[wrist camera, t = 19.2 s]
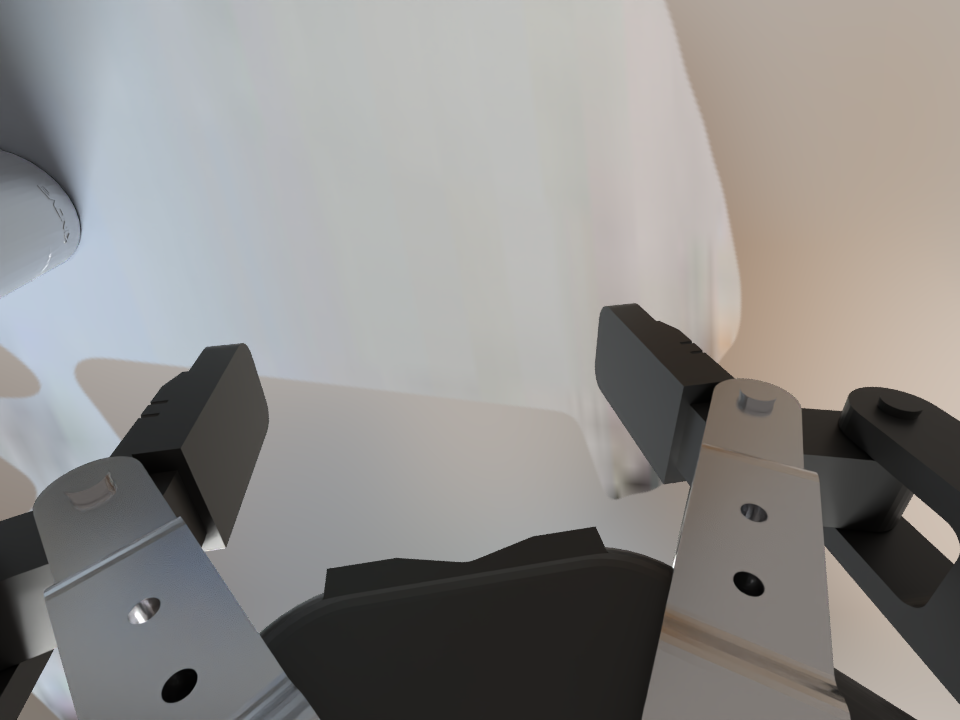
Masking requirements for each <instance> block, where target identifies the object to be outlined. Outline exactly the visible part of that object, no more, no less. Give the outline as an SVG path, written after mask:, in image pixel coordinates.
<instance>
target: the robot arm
mask: <svg viewBox="0 0 960 720" xmlns="http://www.w3.org/2000/svg"><path fill="white" fill-rule="evenodd" d="M79 238H80V224H79V219H78V216H77V213H76V210H75V208H74V206H73V204H72V202H71V200H70V199H69V197H68V195H67V194H66V193H65V192H64V190H63V189H62V188H61V187H60V185H59V184H58V183H57V182H56V181H55V180H54V179H52V178H51V177H50V176H49V175H48V174H47V173H46V172H45V171H43V170H42V169H40V168H39V167H37V166H36V165H34V164H33V163H31V162H29V161H27V160H25V159H23V158H21V157H19V156H17V155H15V154H12V153H8V152H5V151H2V150H0V299H1V298H2V297H4V296H6V295H8V294H9V293H11V292H13V291H15V290H17V289H18V288H20V287H22V286H24V285H25V284H27V283H29V282H31V281H33V280H35V279H36V278H38V277H40V276H42V275H43V274H45V273H47V272H49V271H50V270H52V269H54V268H55V267H57V266H59V265H61V264H62V263H64V262H66V261H67V260H68V259H69V258H70V257H71V256H72V255H73V254H74V252H75V250H76V248H77V246H78V244H79ZM595 374H596V380H597V383H598V386H599V388H600V390H601V392H602V393H603V395H604V396H605V398H606V399H607V401H608V402H609V404H610V405H611V407H612V408H613V410H614V411H615V413H616V414H617V416H618V417H619V419H620V420H621V422H622V423H623V425H624V426H625V428H626V429H627V431H628V432H629V434H630V435H631V436H632V438H633V439H634V441H635V442H636V444H637V445H638V447H639V448H640V450H641V451H642V453H643V454H644V456H645V457H646V459H647V460H648V462H649V463H650V465H651V466H652V468H653V469H654V471H655V472H656V474H657V475H658V477H659V478H660V480H661V481H662V483H663V484H669V483H676V482H683V481H687V482H688V484H689V485H690V489H689V494H688V498H687V502H686V506H685V511H684V515H683V520H682V524H681V528H680V533H679V537H678V542H677V546H676V550H675V555H674V559H673V563H672V567H671V566H669V565H667V564H665V563H663V562H661V561H658V560H656V559H653V558H651V557H648V556H645V555H642V554H639V553H635V552H631V551H627V550H621V549H615V548H608V547H605V546H604V544H603V542H602V540H601V538H600V535H599V533H598V531H597V529H596V527H590V528H584V529H577V530H571V531H565V532H559V533H552V534H546V535H539V536H533V537H531V538H528V539H526V540H523V541H521V542H518V543H516V544H513V545H511V546H508V547H506V548H503V549H501V550H498V551H496V552H494V553H491V554H489V555H486V556H484V557H481V558H479V559H476V560H473V561H470V562H448V561H434V560H419V559H402V558H394V559H387V560H381V561H375V562H368V563H362V564H355V565H349V566H343V567H337V568H330V569H327V574H326V583H325V590H324V593H322V594H320V595H317V596H315V597H313V598H311V599H309V600H307V601H305V602H303V603H301V604H299V605H297V606H296V607H294V608H293V609H291V610H290V611H288V612H286V613H285V614H283V615H282V616H280V617H279V618H278V619H276V620H275V621H274V622H272V623H271V624H270V625H269V626H267V627H266V628H265V629H264V630H263V631H261V632H260V633H258V632H257V630H256V629H255V627H254V626H253V624H252V623H251V621H250V620H249V618H248V617H247V615H246V614H245V612H244V611H243V609H242V608H241V606H240V605H239V603H238V602H237V600H236V599H235V597H234V596H233V594H232V593H231V591H230V590H229V588H228V587H227V585H226V584H225V582H224V581H223V579H222V578H221V576H220V575H219V573H218V572H217V570H216V569H215V567H214V566H213V564H212V563H211V561H210V560H209V558H208V557H207V555H206V554H205V552H204V551H211V550H218V549H224V548H226V547H227V544H228V541H229V538H230V535H231V532H232V529H233V527H234V524H235V521H236V518H237V515H238V512H239V510H240V507H241V504H242V501H243V498H244V495H245V493H246V490H247V487H248V484H249V481H250V478H251V475H252V473H253V470H254V467H255V464H256V461H257V458H258V455H259V453H260V450H261V447H262V444H263V441H264V439H265V436H266V433H267V429H268V424H269V414H268V406H267V403H266V399H265V396H264V393H263V389H262V386H261V383H260V380H259V377H258V374H257V371H256V367H255V364H254V361H253V358H252V355H251V352H250V350H249V348H248V347H247V345H246V344H244V343H240V344H231V345H221V346H211V347H206V348H205V349H204V350H203V351H202V353H201V354H200V356H199V357H198V359H197V360H196V361H195V363H194V364H193V366H192V367H191V369H190V370H189V371H187V372H182V373H180V374H179V375H178V376H176V377H175V378H173V379H172V380H170V381H169V382H168V383H166V384H165V385H164V386H162V387H161V389H160V390H159V391H158V393H157V394H156V395H155V397H154V398H153V400H152V401H151V405H148V406H147V407H146V409H145V410H144V411H143V413H142V414H141V418H138V420H137V421H136V422H135V424H134V425H133V426H132V428H131V429H130V430H129V432H128V433H127V434H126V436H125V437H124V438H123V440H122V441H121V442H120V444H119V445H118V446H117V448H116V449H115V450H114V452H113V453H112V454H111V456H110V457H108V458H104V459H99V460H96V461H93V462H90V463H87V464H84V465H82V466H80V467H77V468H75V469H73V470H71V471H69V472H68V473H66V474H64V475H62V476H61V477H60V478H58V479H57V480H55V481H54V482H53V483H51V484H50V485H49V486H48V487H47V488H46V489H45V490H43V491H42V493H41V494H40V495H39V496H38V498H37V499H36V501H35V503H34V506H33V511H31V512H27V513H24V514H21V515H18V516H15V517H12V518H9V519H6V520H3V521H0V720H17V718H18V716H19V714H20V712H21V710H22V708H23V707H24V705H25V703H26V701H27V699H28V697H29V695H30V693H31V692H32V690H33V688H34V686H35V684H36V682H37V680H38V679H39V677H40V675H41V673H42V671H43V669H44V667H45V665H46V663H47V662H48V660H49V658H50V656H51V654H52V652H53V650H54V649H55V648H57V647H58V650H59V654H60V657H61V661H62V665H63V668H64V672H65V675H66V679H67V682H68V686H69V690H70V693H71V697H72V700H73V704H74V707H75V711H76V715H77V718H78V720H917V719H915V718H913V717H912V716H910V715H909V714H907V713H905V712H904V711H902V710H901V709H899V708H897V707H896V706H894V705H893V704H891V703H890V702H888V701H886V700H885V699H883V698H882V697H880V696H878V695H877V694H875V693H874V692H872V691H870V690H869V689H867V688H866V687H864V686H862V685H861V684H859V683H857V682H856V681H854V680H853V679H851V678H850V677H848V676H846V675H845V674H843V673H841V672H840V671H838V670H837V669H835V668H834V667H833V654H832V641H831V629H830V616H829V603H828V602H829V601H828V590H827V589H828V588H827V575H826V562H825V549H824V545H825V547H826V548H827V549H828V550H829V551H830V552H831V554H832V555H833V556H834V557H835V558H836V559H837V561H838V562H839V563H840V564H841V565H842V566H843V568H844V569H845V570H846V571H847V572H848V574H849V575H850V576H851V577H852V578H853V579H854V580H855V582H856V583H857V584H858V585H859V587H860V588H861V589H862V590H863V591H864V592H865V594H866V595H867V596H868V597H869V598H870V599H871V601H872V602H873V603H874V604H875V605H876V606H877V608H878V609H879V610H880V611H881V612H882V614H883V615H884V616H885V617H886V618H887V619H888V621H889V622H890V623H891V624H892V625H893V627H894V628H895V629H896V630H897V631H898V632H899V633H900V635H901V636H902V637H903V638H904V639H905V641H906V642H907V643H908V644H909V645H910V646H911V648H912V649H913V650H914V651H915V652H916V653H917V655H918V656H919V657H920V658H921V659H922V661H923V662H924V663H925V664H926V665H927V666H928V668H929V669H930V670H931V671H932V672H933V674H934V675H935V676H936V677H937V678H938V679H939V681H940V682H941V683H942V684H943V685H944V686H945V688H946V689H947V690H948V691H949V692H950V693H951V695H952V696H953V697H954V698H955V699H956V701H957V702H958V703H959V704H960V555H959V557H958V559H957V561H956V562H955V564H953V563H952V562H951V561H950V560H949V559H947V558H946V557H945V556H944V555H943V554H942V553H941V552H940V551H939V550H938V549H937V548H936V547H934V546H933V545H932V544H931V543H930V542H929V541H928V540H927V539H926V538H925V537H924V536H923V535H922V534H920V533H919V532H918V531H917V530H916V529H915V528H914V527H913V526H912V525H911V524H910V523H909V522H908V521H906V520H905V519H904V518H903V517H902V514H903V512H904V510H905V509H906V507H907V505H908V503H909V501H910V500H911V498H912V496H913V494H915V495H916V496H917V497H918V498H920V499H921V500H922V501H923V502H924V503H925V504H927V505H928V506H929V507H930V508H931V509H932V510H934V511H935V512H936V513H937V514H938V515H939V516H941V517H942V518H943V519H944V520H945V521H946V522H948V524H949V525H950V526H951V527H952V528H953V530H954V531H955V533H956V535H957V537H958V540H959V543H960V421H958V420H957V419H955V418H954V417H952V416H951V415H949V414H948V413H946V412H944V411H943V410H941V409H940V408H938V407H937V406H935V405H933V404H932V403H930V402H928V401H926V400H924V399H922V398H919V397H917V396H914V395H911V394H908V393H905V392H902V391H898V390H893V389H888V388H881V387H864V388H859V389H856V390H854V391H852V392H851V393H850V394H849V396H848V399H847V401H846V403H845V406H844V408H843V411H832V410H818V409H805V408H801V405H800V404H799V402H798V400H797V399H796V398H795V397H794V396H793V395H791V394H790V393H789V392H787V391H785V390H784V389H782V388H780V387H778V386H775V385H773V384H770V383H767V382H763V381H759V380H753V379H744V378H742V379H740V378H737V379H735V378H733V377H732V376H731V375H730V374H729V373H728V372H727V371H726V370H724V369H723V368H722V367H721V366H720V365H719V364H718V363H716V362H715V361H714V360H713V359H712V358H711V357H710V356H708V355H707V354H706V353H703V352H702V350H701V349H700V348H699V347H698V346H697V345H696V344H695V343H692V341H691V340H690V339H689V338H688V337H687V336H685V335H684V334H683V333H682V332H681V331H680V330H678V329H676V328H674V327H672V326H669V325H667V324H665V323H663V322H661V321H655V320H654V319H653V318H652V317H651V316H650V315H649V314H648V313H647V312H646V311H645V310H643V309H642V308H641V307H640V306H639V305H638V304H636V303H633V304H623V305H614V306H605V307H603V308H602V310H601V312H600V317H599V327H598V338H597V349H596V359H595Z"/></svg>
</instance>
